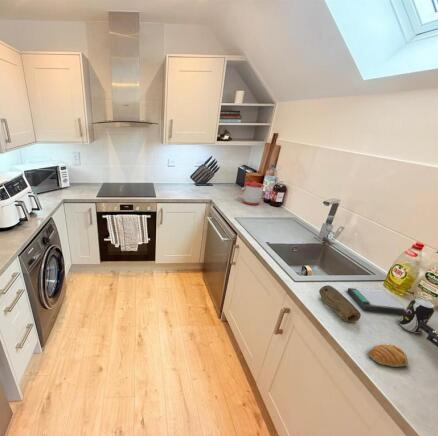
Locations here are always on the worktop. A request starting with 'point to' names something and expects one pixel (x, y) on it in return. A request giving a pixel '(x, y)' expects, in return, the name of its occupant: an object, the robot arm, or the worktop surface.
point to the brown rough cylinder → (339, 304)
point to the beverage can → (416, 314)
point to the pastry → (389, 355)
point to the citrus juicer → (252, 192)
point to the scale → (375, 301)
